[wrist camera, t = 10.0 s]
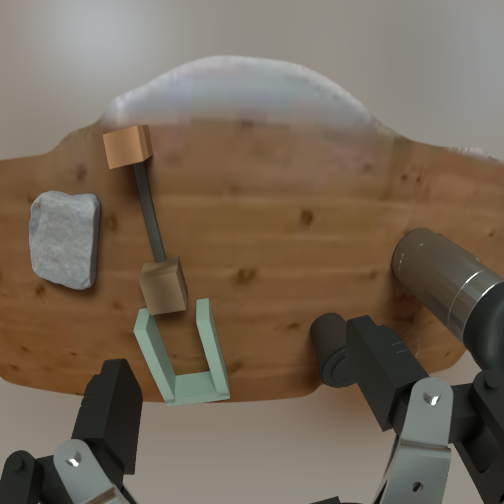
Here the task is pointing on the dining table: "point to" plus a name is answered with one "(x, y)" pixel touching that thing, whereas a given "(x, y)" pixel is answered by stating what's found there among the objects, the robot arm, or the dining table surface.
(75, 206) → the stone block
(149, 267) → the wooden cube dumbbell
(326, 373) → the coffee cup
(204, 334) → the channel
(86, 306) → the dining table surface
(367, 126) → the dining table surface
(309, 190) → the dining table surface
